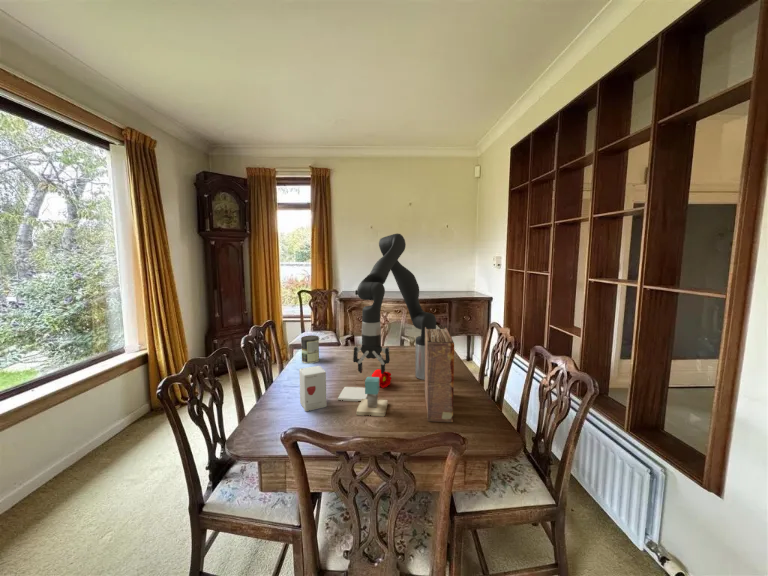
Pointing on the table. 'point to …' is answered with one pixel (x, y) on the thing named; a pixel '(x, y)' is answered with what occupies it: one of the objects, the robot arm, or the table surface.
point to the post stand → (372, 406)
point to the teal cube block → (372, 385)
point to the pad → (352, 394)
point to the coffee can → (310, 349)
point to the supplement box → (312, 388)
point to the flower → (382, 378)
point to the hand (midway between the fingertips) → (371, 372)
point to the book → (439, 375)
